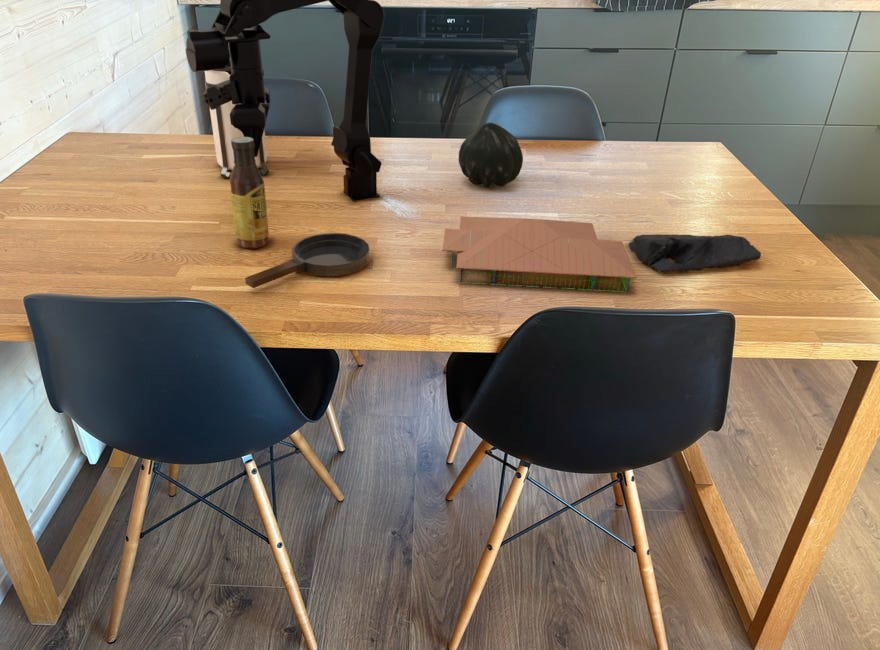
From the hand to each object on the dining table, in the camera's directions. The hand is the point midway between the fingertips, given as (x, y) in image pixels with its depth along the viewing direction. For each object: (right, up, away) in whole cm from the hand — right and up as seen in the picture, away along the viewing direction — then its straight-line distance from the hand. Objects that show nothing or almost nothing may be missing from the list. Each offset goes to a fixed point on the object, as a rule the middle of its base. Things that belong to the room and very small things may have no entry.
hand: (256, 149), depth 139 cm
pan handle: (+7, -28, -18) cm, 34 cm away
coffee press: (-10, +5, +32) cm, 34 cm away
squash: (+50, 0, +26) cm, 56 cm away
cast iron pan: (+16, -24, -11) cm, 31 cm away
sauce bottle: (0, -20, -4) cm, 20 cm away
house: (+53, -24, -10) cm, 59 cm away
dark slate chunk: (+84, -23, -7) cm, 87 cm away
